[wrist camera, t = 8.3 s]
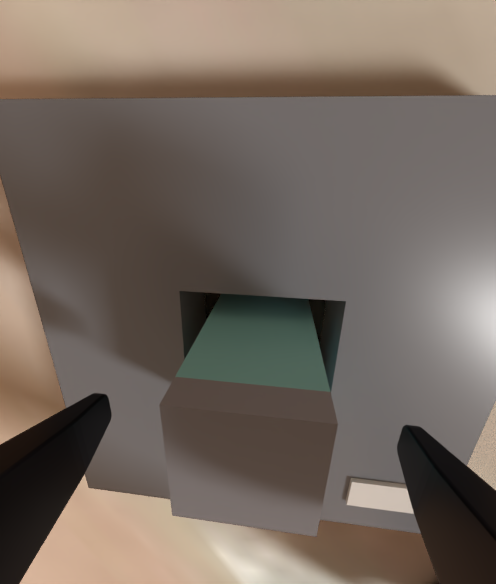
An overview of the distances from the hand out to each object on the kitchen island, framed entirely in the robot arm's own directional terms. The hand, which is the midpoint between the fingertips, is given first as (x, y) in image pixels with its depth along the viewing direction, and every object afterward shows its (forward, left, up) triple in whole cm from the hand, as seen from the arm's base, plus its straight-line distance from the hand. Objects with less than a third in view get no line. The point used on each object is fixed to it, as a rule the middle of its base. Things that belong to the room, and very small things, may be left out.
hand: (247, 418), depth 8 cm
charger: (0, 0, -6) cm, 6 cm away
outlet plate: (0, 0, -6) cm, 6 cm away
